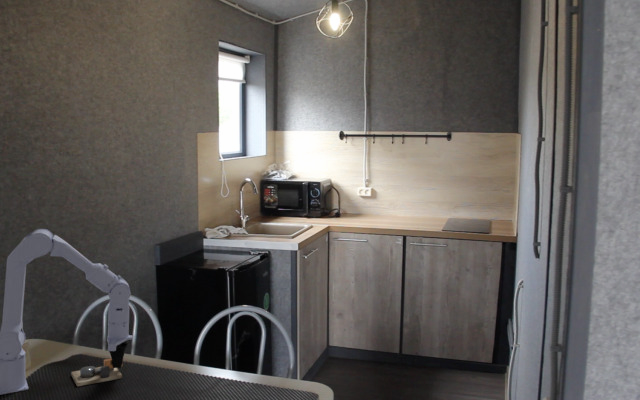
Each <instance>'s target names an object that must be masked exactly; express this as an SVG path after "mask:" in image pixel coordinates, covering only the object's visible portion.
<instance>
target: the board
mask: <svg viewBox="0 0 640 400" xmlns="http://www.w3.org/2000/svg"><path fill="white" fill-rule="evenodd" d="M101 367H102V366H98V367H95V369H100V368H101ZM70 373H71V374H70V375H71V377H72V379H73V381H74V383H75V384H76V386H77V387H82V386H87V385H92V384H97V383H104V382H109V381H113V380H119V379H123V375H122V373H121V372H120V370H119V368H114V371H109V377H108V378H101V377H100V373H98V374H95V375H94V376H92V377H88V378H83V377H81V376H80V370H75V371H71V372H70Z"/></svg>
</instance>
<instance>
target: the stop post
mask: <svg viewBox="0 0 640 400" xmlns="http://www.w3.org/2000/svg"><path fill="white" fill-rule="evenodd" d="M100 367H101V368H100V377H101V378H108V377H109V366H104V365H102V366H100Z"/></svg>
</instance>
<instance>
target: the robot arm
mask: <svg viewBox="0 0 640 400" xmlns="http://www.w3.org/2000/svg"><path fill="white" fill-rule="evenodd" d="M49 253H50V254H49ZM48 254H49V256H50V257H61V258H63V259H65V260H66V261H68V262H69V263H71V264H72V265H74V266H75V267H76V268H78V269H79V270H80V271H82V272H84V274H85V279H86V281H88V282H89V283H91V284H92V285H93V286H95V287H96V288H97V289H99V290H100V291H101V292H103V293H106V294H108V298H109V305H108V307H107V308H108V313H107V315H108V316H107V336H106V341H107V344H106V349H107V352H109V355H110V357H111V358H112V365H113V368H117V369H120V368H122V367H121V366H122V363H123V362H124V357H125V353H126V350H127V347H128V345H129V344H130V342H129V340H132V339H134V336H133V335H130V333H129V332H130V331H129V330H130V329H129V327H130V326H129V325H130V304H129V303H130V297H131V295H132V292H131V288H130V285H129V283H128V282H127V281H126V280H125V278H122V276H121V275H119V274H118V275H116V274H115V273H114V272H112V271H111V270H110V269H109V266H108V265H107V264H105V263H104V264H102V263H100V262H99V263H93V262H92V261H91V260H90V259H88V258H87V257H86V256H84V255H83V254H82V253H80V252H79V251H78V250H77V249H76V248H74V247H73V246H72V245H71V244H70V243H68V242H67V241H66V240H64V239H63V238H61V237H59V236H58V235H57V234H53V233H52V231H50V230H48V229H46V228H38V229H35V230H34V231H32V232H30V233H29V234H27V235H26V236H25V237H24V238H23V239H22V240H21V241H20V243H19V244H17V246H16V247H14V249H13V250H12V251H11V252H10V253H9V254H8V256H7V258H6V268H5V269H6V270H5V280H4V281H5V282H4V295H3V307H2V308H3V309H2V310H3V311H2V319H1V320H2V323H1V327H0V395H6V394H12V393H17V392H23V391H28V390H29V386H28V382H27V379H26V351H25V350H24V349H23V345H24V343H25V342H26V333H25V332H24V328H23V327H24V325H23V324H24V323H23V313H24V300H25V286H26V276H27V275H26V274H27V273H26V272H27V265H28V264H29V263H31V262H32V261H34V259H37V258H40V257H43V256H45V255H48ZM111 358H110V359H111ZM123 364H124V363H123Z"/></svg>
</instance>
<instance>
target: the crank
mask: <svg viewBox="0 0 640 400" xmlns="http://www.w3.org/2000/svg"><path fill="white" fill-rule="evenodd" d="M123 364H124V363H122V366H121V368H122V367H123ZM103 366H109V371H114V368H113V365H112V358H106V359H103ZM95 368H96V366H93V365H89V366H87V365H86V366H84V367H81V368H80V369H79V371H80V376H81V377H83V378H88V377H92V376H94V375H95V374H98V373H100V369H95Z"/></svg>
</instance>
